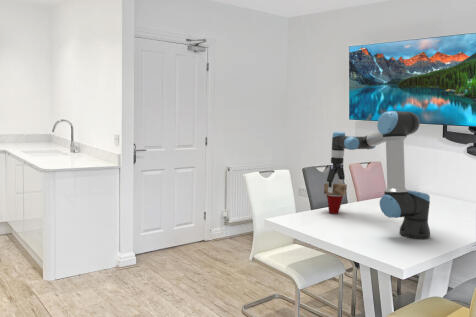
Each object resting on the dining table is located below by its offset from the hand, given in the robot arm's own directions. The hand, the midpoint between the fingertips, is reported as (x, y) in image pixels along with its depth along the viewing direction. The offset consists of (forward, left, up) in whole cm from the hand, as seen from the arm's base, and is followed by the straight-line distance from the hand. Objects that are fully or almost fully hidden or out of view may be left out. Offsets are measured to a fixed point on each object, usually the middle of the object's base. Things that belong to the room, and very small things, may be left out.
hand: (335, 191), depth 275 cm
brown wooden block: (0, 0, -2) cm, 2 cm away
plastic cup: (0, 0, -14) cm, 14 cm away
